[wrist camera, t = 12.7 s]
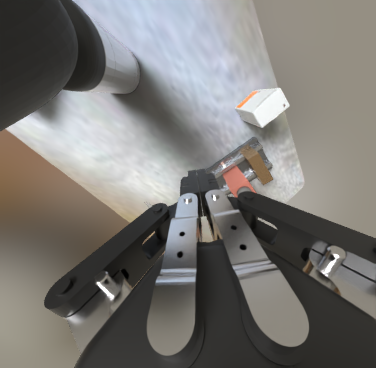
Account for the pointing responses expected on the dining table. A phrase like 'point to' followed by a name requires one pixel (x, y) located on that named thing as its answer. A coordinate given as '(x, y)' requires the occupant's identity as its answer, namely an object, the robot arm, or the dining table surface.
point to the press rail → (243, 164)
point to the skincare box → (262, 106)
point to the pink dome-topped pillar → (237, 181)
